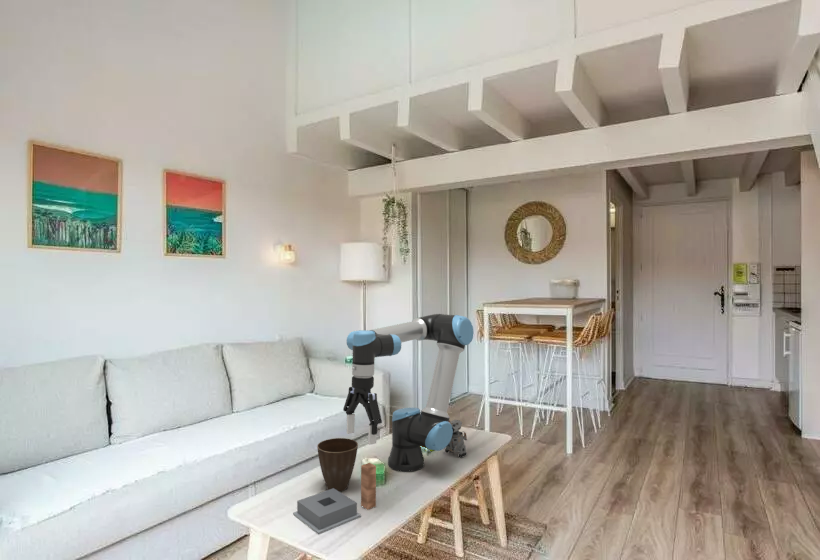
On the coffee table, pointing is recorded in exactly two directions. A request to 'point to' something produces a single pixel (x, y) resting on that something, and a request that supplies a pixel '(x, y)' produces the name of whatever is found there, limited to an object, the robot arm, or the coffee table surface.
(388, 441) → the coffee table surface
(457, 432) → the figurine
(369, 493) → the peg
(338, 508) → the socket block
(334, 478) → the plant pot
